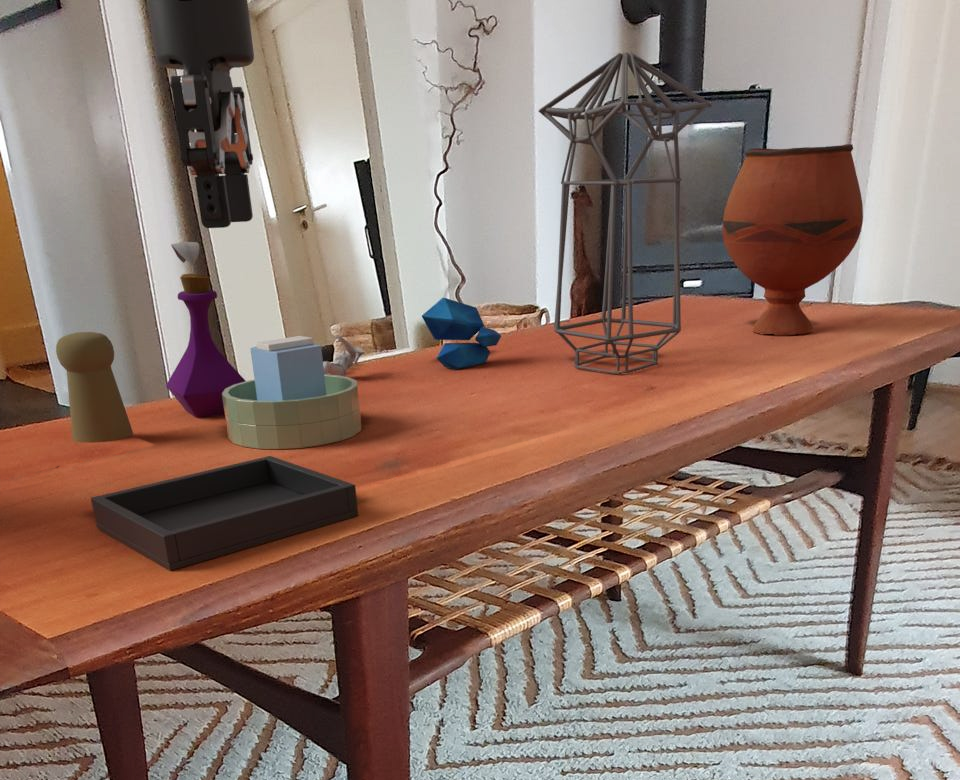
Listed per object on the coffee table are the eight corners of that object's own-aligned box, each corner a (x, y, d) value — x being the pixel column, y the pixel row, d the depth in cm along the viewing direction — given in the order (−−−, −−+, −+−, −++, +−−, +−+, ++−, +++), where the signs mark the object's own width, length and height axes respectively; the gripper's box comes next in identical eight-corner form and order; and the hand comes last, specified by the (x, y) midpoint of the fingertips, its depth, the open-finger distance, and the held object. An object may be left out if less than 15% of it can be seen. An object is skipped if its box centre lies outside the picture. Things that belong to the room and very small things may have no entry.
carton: (287, 441, 95) (275, 346, 91) (261, 432, 98) (249, 341, 94) (330, 431, 97) (320, 339, 94) (303, 423, 101) (293, 334, 97)
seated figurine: (284, 399, 119) (317, 352, 127) (317, 424, 121) (347, 375, 129) (315, 358, 114) (346, 311, 122) (348, 384, 116) (377, 336, 124)
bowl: (273, 462, 90) (266, 408, 87) (206, 439, 99) (198, 389, 96) (387, 435, 97) (383, 384, 95) (315, 415, 106) (310, 369, 104)
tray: (170, 571, 66) (163, 536, 64) (97, 528, 74) (90, 497, 73) (358, 515, 75) (355, 484, 74) (274, 483, 83) (270, 455, 82)
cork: (60, 452, 96) (33, 337, 91) (98, 437, 101) (75, 328, 96) (111, 455, 94) (87, 338, 89) (148, 439, 99) (127, 328, 94)
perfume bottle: (255, 416, 107) (231, 241, 99) (188, 426, 104) (157, 246, 96) (234, 404, 113) (210, 238, 105) (170, 414, 110) (140, 243, 102)
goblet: (696, 326, 153) (706, 150, 142) (809, 319, 156) (828, 145, 145) (747, 345, 136) (764, 146, 125) (873, 336, 139) (900, 141, 128)
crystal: (515, 308, 128) (447, 296, 120) (506, 375, 131) (439, 368, 123) (478, 304, 133) (410, 292, 125) (469, 369, 136) (403, 361, 128)
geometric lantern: (531, 368, 126) (528, 57, 111) (612, 351, 135) (619, 61, 120) (623, 384, 115) (634, 41, 100) (704, 364, 125) (725, 48, 109)
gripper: (173, 10, 80) (205, 222, 87) (117, -20, 67) (160, 231, 75) (263, 6, 80) (288, 218, 87) (224, -25, 67) (256, 227, 75)
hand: (229, 224), depth 81 cm, fingers open, 8 cm apart
